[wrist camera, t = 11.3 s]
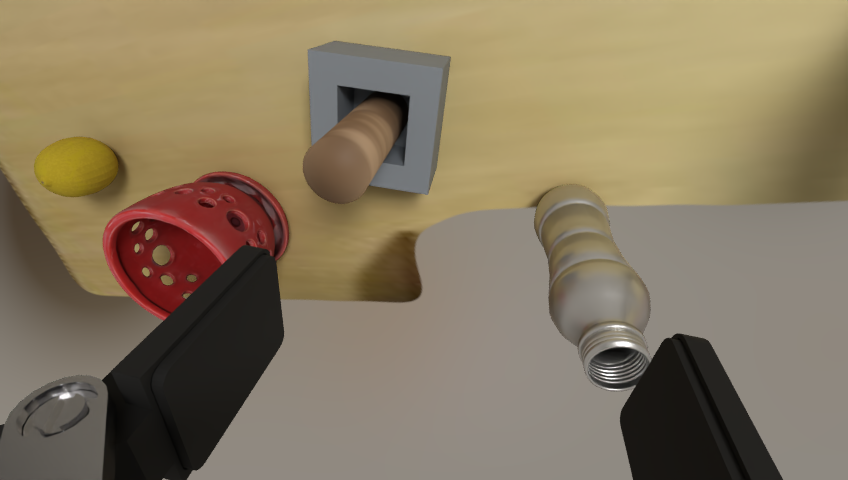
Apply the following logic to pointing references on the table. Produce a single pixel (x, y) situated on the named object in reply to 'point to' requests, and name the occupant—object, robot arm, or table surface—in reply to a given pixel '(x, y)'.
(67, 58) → the table surface
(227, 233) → the plant pot
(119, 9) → the table surface
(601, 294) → the plastic bottle
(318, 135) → the socket
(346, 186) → the peg
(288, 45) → the table surface
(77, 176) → the lemon
